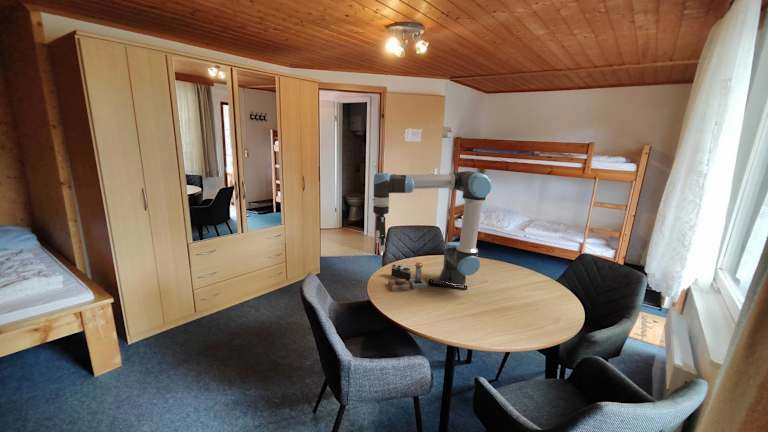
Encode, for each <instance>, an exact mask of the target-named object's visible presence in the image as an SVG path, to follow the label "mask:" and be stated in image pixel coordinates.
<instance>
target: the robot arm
mask: <svg viewBox="0 0 768 432" xmlns="http://www.w3.org/2000/svg"><path fill="white" fill-rule="evenodd" d="M417 189H418V190H419V189H421V190H423V189H449V190H450V191H458V192H462V199H463V200H464V205H463V213H462V222H461V228H460V229H461V231H460V237H459V241H449V242H446V243H445V246H444V252H443V253H444V255H443V268H442V269H441V271H440V274H439V281H440V280H441V281H444V282H448V283H453V284H462V285H461V286H463V285H465V284H466V283H467V282H466V280H467V278H466V276H467V277H468V276H473V275H474V274H476V273H478V271H479V270H480V268H481V260H480V259H479V258H478V257H479V255H478V254H479V249H478V248H477V242H478V241H477V240H478V235H479V234H478V233H479V227H480V219H481V214H482V213H481V211H482V205H483V203H484V202H485V201H486V197H487V196H488V195H489V194H490V192H491V190H492V181H491V178H489V177H488V175H486V174H484V173H482V172H475V171H472V170H463V171H453V172H449V173H447V174H446V173H444V174H443V173H441V174H438V173H437V174H435V173H434V174H432V173H431V174H397V173H393V174H389V173H388V172H387V173H385V172H377V173H375V174H374V176H373V198H372V201H373V207H372V209H373V210H372V211H373V214H374V215H376V221H375V222H376V223H375V244H379V245H378V251H379V252H386V239H387V235H386V217H385V215H387V214H389V209H390V206H389V204H390V194H410V193H413V191H414V190H417ZM441 281H440V282H441Z"/></svg>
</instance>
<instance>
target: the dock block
mask: <svg viewBox="0 0 768 432" xmlns="http://www.w3.org/2000/svg"><path fill="white" fill-rule="evenodd" d="M387 285H388V287H389V288H390V290H391V293H396V292H410V291H411V286H410V284H409V281H406V279H398V278H396V279H388V280H387Z"/></svg>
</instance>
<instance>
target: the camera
mask: <svg viewBox="0 0 768 432" xmlns="http://www.w3.org/2000/svg"><path fill="white" fill-rule="evenodd" d="M411 275H412V269H411V268H409V267H406V265H404V264H401V263H399V264H392V265H391V277H392V278H395V279H406V281H407V282H409V279H412V278H411Z"/></svg>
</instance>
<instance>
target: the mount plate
mask: <svg viewBox="0 0 768 432" xmlns="http://www.w3.org/2000/svg"><path fill="white" fill-rule="evenodd" d="M408 284H409V285H410V288H411V289H412V290H424V289H426V290H427V289H428V284H427V282H426V281H425V280H424V278H421V283H419V284H415V278H410V279H409V281H408Z"/></svg>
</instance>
